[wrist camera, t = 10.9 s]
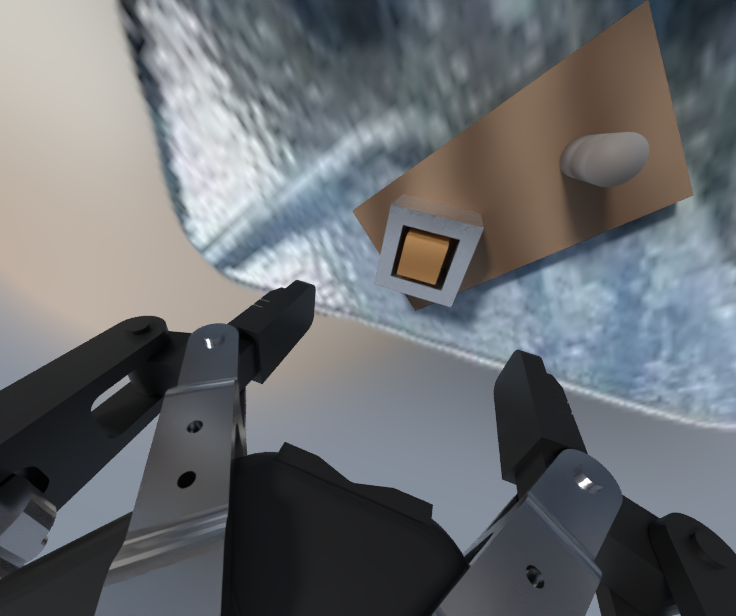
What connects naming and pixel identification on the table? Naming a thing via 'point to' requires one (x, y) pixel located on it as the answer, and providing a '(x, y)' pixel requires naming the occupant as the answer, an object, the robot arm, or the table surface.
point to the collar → (434, 220)
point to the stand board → (551, 161)
